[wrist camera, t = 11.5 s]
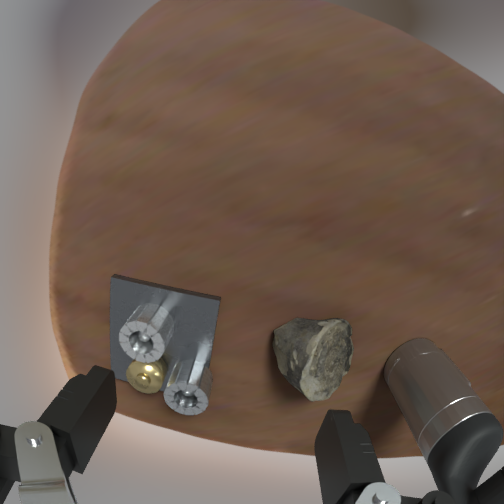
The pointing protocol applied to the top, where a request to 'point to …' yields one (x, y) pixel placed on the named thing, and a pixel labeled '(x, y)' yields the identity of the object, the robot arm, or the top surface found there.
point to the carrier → (182, 341)
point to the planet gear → (152, 324)
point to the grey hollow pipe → (189, 387)
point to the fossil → (314, 354)
